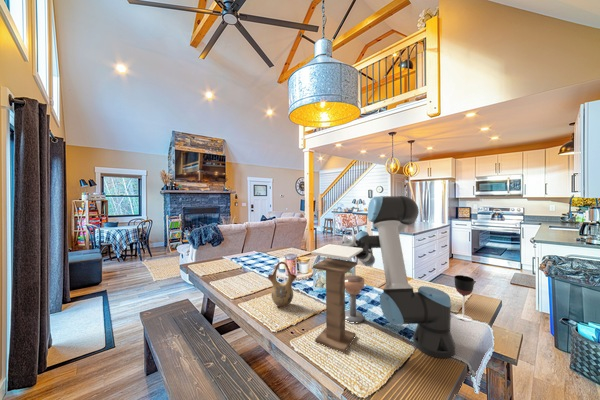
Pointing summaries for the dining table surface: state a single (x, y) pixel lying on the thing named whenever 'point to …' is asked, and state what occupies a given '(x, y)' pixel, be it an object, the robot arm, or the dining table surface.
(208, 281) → the dining table surface
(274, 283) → the ceramic vessel
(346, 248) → the lid
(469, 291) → the wineglass
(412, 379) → the dining table surface
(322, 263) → the stand
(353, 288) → the brown goblet
